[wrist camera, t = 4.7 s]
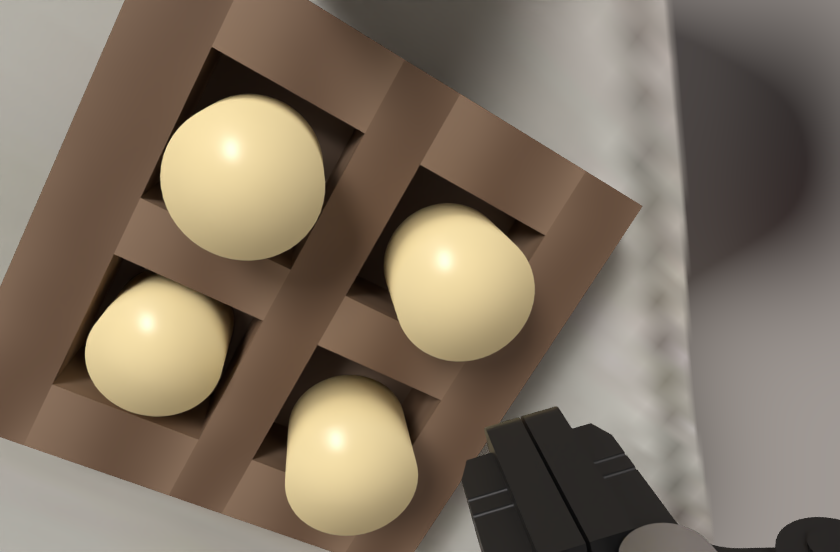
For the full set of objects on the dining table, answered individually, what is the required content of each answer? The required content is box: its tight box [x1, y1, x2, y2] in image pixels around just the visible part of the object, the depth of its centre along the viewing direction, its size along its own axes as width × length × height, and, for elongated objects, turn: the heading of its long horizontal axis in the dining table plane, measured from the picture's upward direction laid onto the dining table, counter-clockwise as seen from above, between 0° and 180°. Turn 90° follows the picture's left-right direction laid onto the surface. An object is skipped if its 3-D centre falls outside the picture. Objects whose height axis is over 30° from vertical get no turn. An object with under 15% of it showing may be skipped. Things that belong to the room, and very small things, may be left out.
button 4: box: [384, 203, 535, 362], centre depth 21 cm, size 4×4×3 cm
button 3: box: [160, 94, 325, 261], centre depth 19 cm, size 4×4×3 cm
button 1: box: [85, 270, 234, 416], centre depth 22 cm, size 4×4×3 cm
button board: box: [0, 0, 642, 552], centre depth 24 cm, size 17×17×4 cm
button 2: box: [285, 375, 418, 536], centre depth 22 cm, size 4×4×3 cm
